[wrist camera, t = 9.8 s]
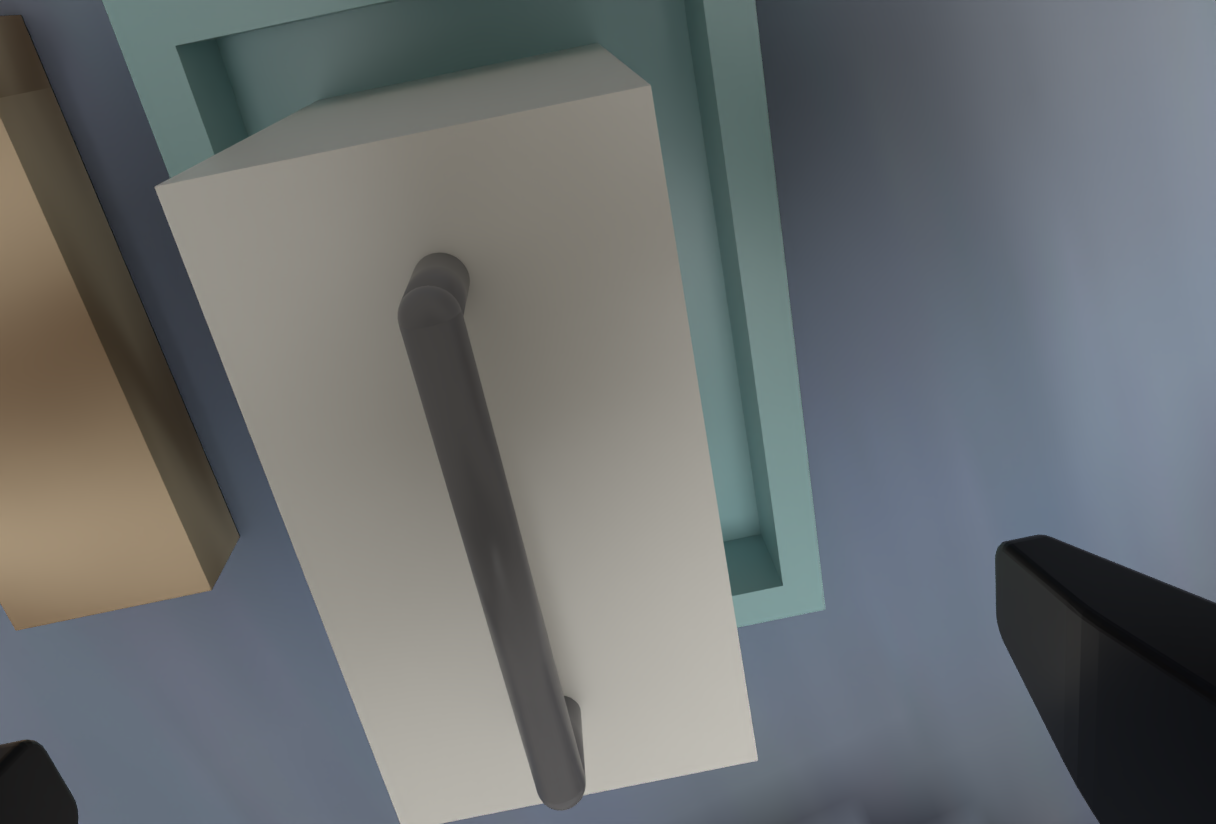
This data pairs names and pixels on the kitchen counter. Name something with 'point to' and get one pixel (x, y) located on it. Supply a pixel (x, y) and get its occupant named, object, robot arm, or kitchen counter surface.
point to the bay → (84, 392)
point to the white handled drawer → (483, 425)
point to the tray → (694, 170)
